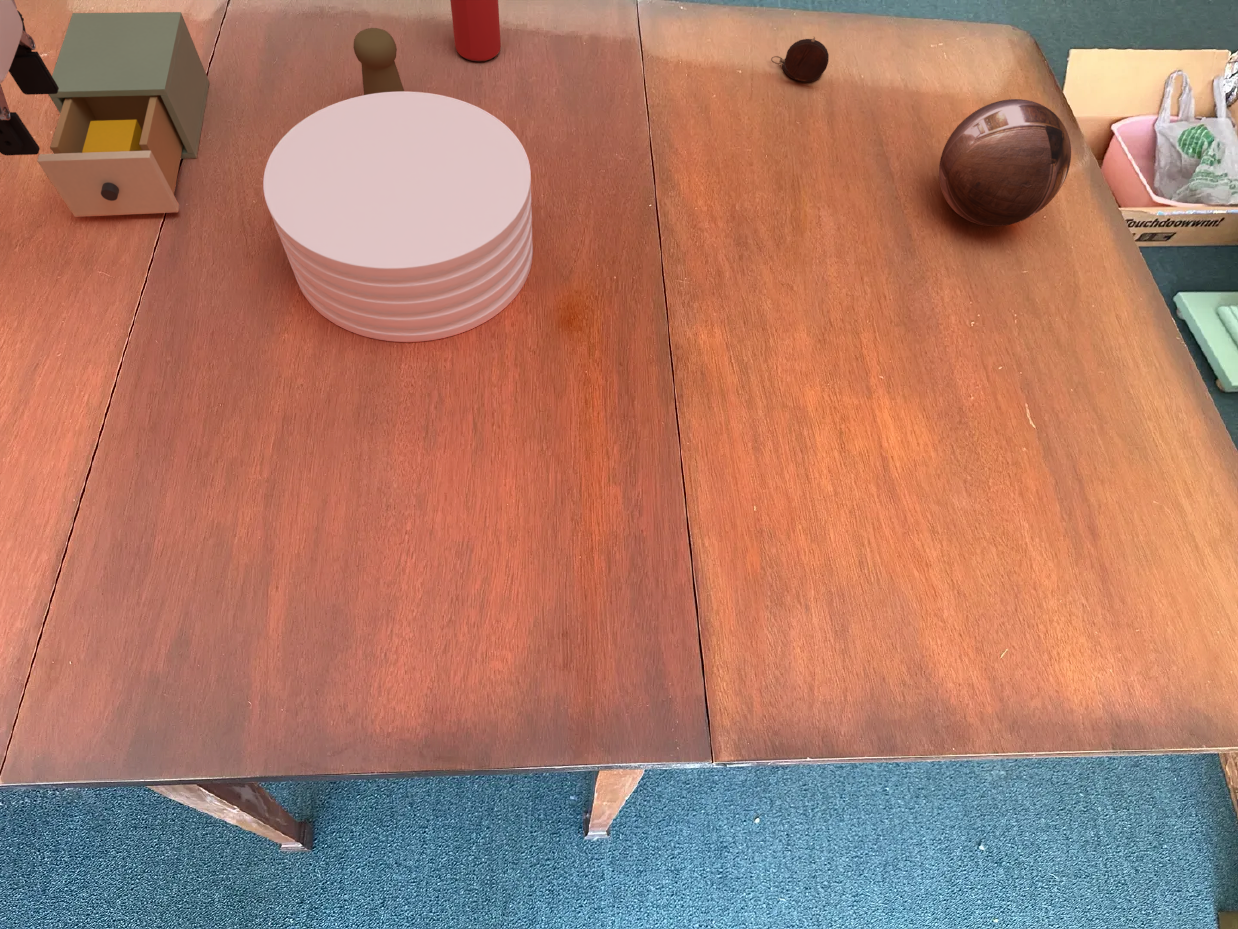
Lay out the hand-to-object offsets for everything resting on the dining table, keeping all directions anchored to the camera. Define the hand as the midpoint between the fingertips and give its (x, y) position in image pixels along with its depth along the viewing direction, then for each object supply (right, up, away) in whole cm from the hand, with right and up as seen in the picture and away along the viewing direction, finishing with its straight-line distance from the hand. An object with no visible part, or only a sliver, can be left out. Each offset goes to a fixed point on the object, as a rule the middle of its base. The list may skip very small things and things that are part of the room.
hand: (31, 121), depth 74 cm
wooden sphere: (+104, +2, +32) cm, 109 cm away
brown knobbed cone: (+24, +15, +32) cm, 43 cm away
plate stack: (+31, -7, +20) cm, 38 cm away
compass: (+82, +27, +44) cm, 97 cm away
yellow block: (-3, +3, +20) cm, 20 cm away
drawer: (-3, +3, +21) cm, 22 cm away
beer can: (+35, +28, +41) cm, 61 cm away
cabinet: (-5, +12, +28) cm, 31 cm away
